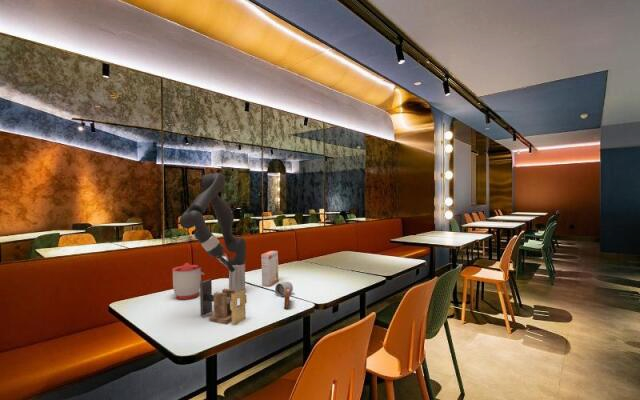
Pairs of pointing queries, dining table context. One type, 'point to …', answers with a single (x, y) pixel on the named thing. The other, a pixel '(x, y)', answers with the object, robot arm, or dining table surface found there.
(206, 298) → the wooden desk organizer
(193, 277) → the citrus juicer
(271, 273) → the cracker box
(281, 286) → the ceramic mug
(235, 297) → the tan wooden flat panel
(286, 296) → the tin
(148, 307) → the dining table surface
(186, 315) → the dining table surface
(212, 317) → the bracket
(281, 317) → the dining table surface
